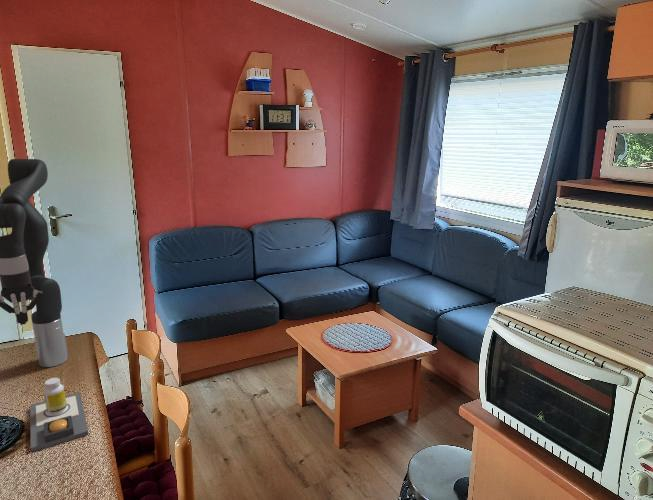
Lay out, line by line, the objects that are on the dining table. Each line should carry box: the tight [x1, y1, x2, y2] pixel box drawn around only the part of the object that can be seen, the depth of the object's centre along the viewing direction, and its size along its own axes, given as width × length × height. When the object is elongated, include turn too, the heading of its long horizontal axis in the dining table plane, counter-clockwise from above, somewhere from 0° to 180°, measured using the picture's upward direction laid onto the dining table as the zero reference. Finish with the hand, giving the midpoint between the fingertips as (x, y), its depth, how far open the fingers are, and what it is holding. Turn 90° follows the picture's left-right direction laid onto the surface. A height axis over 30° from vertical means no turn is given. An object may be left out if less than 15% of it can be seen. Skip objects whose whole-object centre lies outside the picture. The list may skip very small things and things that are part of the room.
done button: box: [49, 419, 68, 433], centre depth 132 cm, size 4×4×2 cm
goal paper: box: [36, 396, 79, 427], centre depth 142 cm, size 12×11×1 cm
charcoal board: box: [29, 391, 89, 453], centre depth 139 cm, size 24×14×3 cm, turn 32°
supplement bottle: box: [43, 377, 67, 414], centre depth 141 cm, size 5×5×10 cm
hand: (23, 323), depth 143 cm, fingers closed
